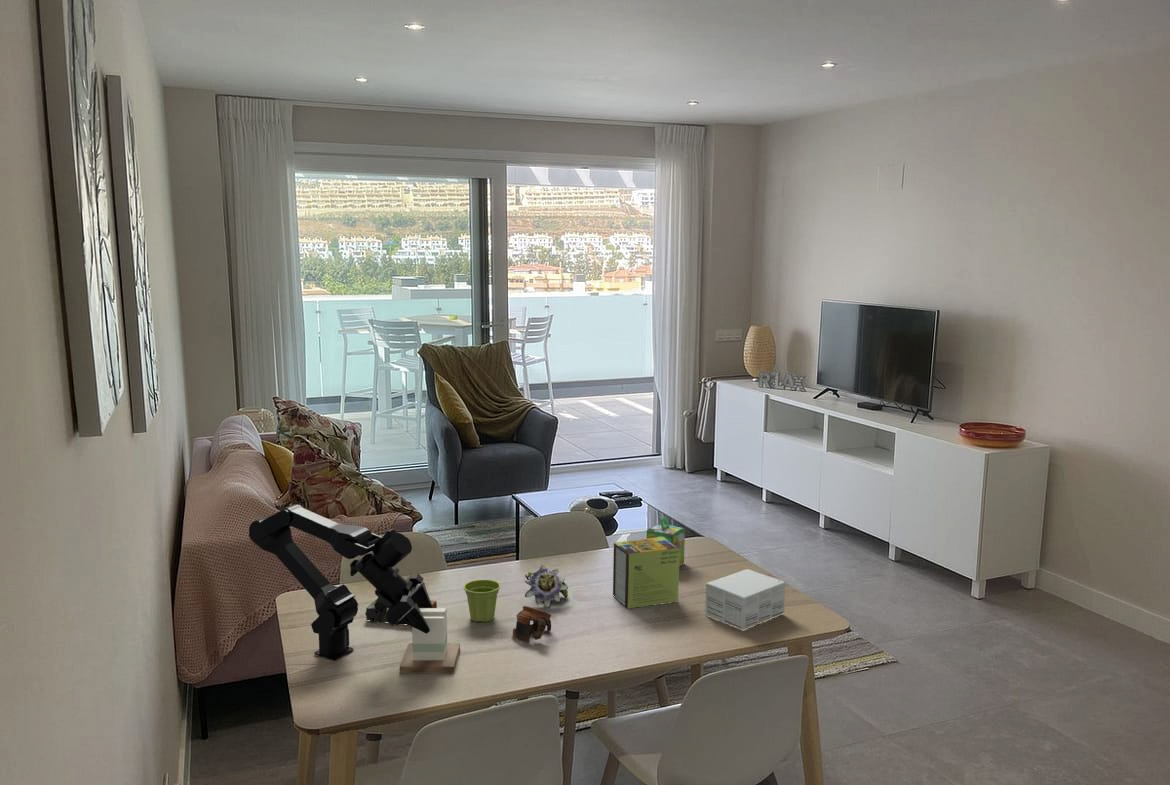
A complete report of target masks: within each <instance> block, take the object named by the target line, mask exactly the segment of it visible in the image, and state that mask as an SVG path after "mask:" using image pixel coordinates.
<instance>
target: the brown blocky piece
mask: <svg viewBox="0 0 1170 785" xmlns="http://www.w3.org/2000/svg"><path fill="white" fill-rule="evenodd" d="M551 617H552V614H550V613H549V612H547V611H543V610H542V609H539V608H535V607H531V606H527V605H524V606H522V610H520V611H519V612H518V613H517V615H516V624H515V627H514V628H512V636H511V638H513V639H515V640H518V641H521V642H524V643H527V644H528V643H530V642H531V641H530V640H531V638H532V639H534V640H535V641H536V640H541V639H542V636H543V634H544V632H545V631H546V632H547V633H550V632H551V631H552V621H551ZM531 622H532V624H531Z"/></svg>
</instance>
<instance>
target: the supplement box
mask: <svg viewBox="0 0 1170 785" xmlns="http://www.w3.org/2000/svg"><path fill="white" fill-rule="evenodd" d="M785 597H786V582H785V581H783V580H781V579H779V578H778V579H777V578H775V577H771V576H769V575H766V574H763V573H760V572H757V571H755V570H752V569H749V568H745V569H743V570H741V571H738V572H735V573H732V574H729V575H726V576H723V577H721V578H718V579H714V580H711V581H708V582H706V583H705V609H704V610H705V612H704V613H705V614H706V615H708V616H711V617H713V618H715V619H718V620H720V621H723V622H725V623H728V624H730V625H733V626H736V627H738V628H740V629H746V628H748V627H750V626H753V625H756V624H758V623H760V622H763V621H765V620H767V619H770V618H772V617H775V616H778V615H780V614H782V613H784V614H785V601H786V600H785V599H786V598H785Z"/></svg>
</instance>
